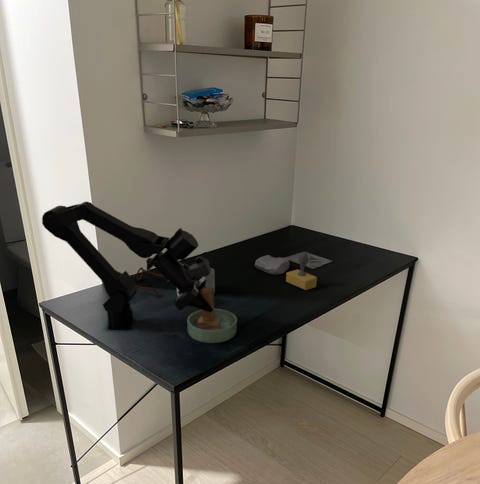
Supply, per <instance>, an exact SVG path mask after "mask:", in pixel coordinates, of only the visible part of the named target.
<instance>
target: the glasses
mask: <svg viewBox="0 0 480 484" xmlns="http://www.w3.org/2000/svg"><path fill="white" fill-rule="evenodd" d="M140 272H141V274H140ZM144 273H147V274H150V275H152V276H156V277H163V278H166V277H165V276H164V275H163V274H160V273H156V272H152V271H151V270H147V269H144V268H143V267H139V269H138V270H137V272H136V273H134V275H130V277H131V278H132V279H134V278H136V281H138V282H139V281H141V279H142V277H143V276H144ZM139 274H140V277H139ZM136 286H137V289H141V290H149V291H153V292H154V293H155V294H156V295H157V296H158V297H161V294H160V293H159V291H157V290H156V289H155V288H153V287H144V286H141V285H138V284H136Z"/></svg>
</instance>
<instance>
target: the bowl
mask: <svg viewBox="0 0 480 484" xmlns="http://www.w3.org/2000/svg"><path fill="white" fill-rule="evenodd" d="M214 310H215V317H220V326H221V327H220V330H204V329H200V328H198V319H199V317H200V316H203V312H202V309H198V310H196V311H193V312H192V313H191V314H189V315H188V316H187V320H186V322H187V323H186V326H187V329H186V330H187V331H186V332H187V333H188V335H189V337H190V338H192V339H193V340H195V341H198V342H200V343H205V344H218V343H224V342H227V341H229V340H231V339H232V338H234V337H235V335H236V334H237V332H238V317H237V315H236V314H235V313H233V312H231V311H228V310H226V309H221V308H214Z"/></svg>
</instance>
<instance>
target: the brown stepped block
mask: <svg viewBox="0 0 480 484" xmlns="http://www.w3.org/2000/svg"><path fill="white" fill-rule="evenodd" d="M202 296H203V297H204V298H205V299H206V301H207V302H208V303H209V304H210V306H211V307H212V308H213V311H212V312H208V311H205V310H202V309H201V310H202V312H203V316H200V317H199V319H198V328H200V329H204V330H220V327H221V326H220V317H215V310H214V309H215V306H214V304H215V293H214V288H209V287H203V289H202Z"/></svg>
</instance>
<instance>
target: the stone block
mask: <svg viewBox="0 0 480 484" xmlns="http://www.w3.org/2000/svg"><path fill="white" fill-rule="evenodd" d="M254 267H255V268H256V269H257V270H260V271H263V272H265V273H267V274H270V275H282V274H284V273H285V272H287V271H289V269H290V260H287V259H286V258H285V257H280V256H279V257H274V256H271V255H269V254H266V255H263V256H260V257H259V258H257V259H256V260H255V263H254Z"/></svg>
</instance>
